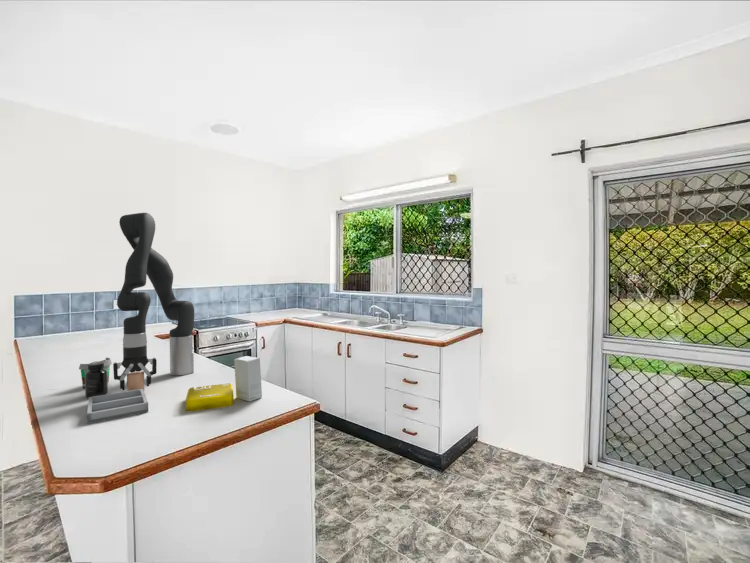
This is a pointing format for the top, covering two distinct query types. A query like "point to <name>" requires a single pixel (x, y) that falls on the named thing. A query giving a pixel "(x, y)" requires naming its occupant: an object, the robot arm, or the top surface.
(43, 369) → the top surface
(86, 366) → the food container
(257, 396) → the skincare box
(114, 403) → the rack
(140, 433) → the top surface
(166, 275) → the robot arm
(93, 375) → the supplement bottle
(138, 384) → the peach rounded capsule
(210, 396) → the element tile
